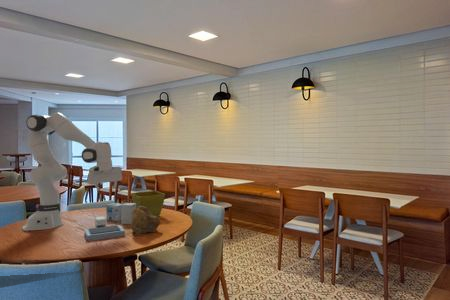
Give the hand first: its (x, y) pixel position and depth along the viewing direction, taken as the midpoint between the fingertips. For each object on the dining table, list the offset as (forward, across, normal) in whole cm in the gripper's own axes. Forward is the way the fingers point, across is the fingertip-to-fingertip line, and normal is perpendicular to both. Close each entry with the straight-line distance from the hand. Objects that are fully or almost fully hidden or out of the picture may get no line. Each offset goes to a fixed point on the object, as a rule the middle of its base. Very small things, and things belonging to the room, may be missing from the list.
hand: (106, 189), depth 202 cm
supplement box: (+25, -15, -7) cm, 30 cm away
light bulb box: (+24, -11, -22) cm, 35 cm away
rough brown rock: (+26, -16, +19) cm, 36 cm away
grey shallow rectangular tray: (+25, +6, +12) cm, 28 cm away
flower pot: (+25, -33, -16) cm, 44 cm away
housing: (+24, +4, -3) cm, 25 cm away
